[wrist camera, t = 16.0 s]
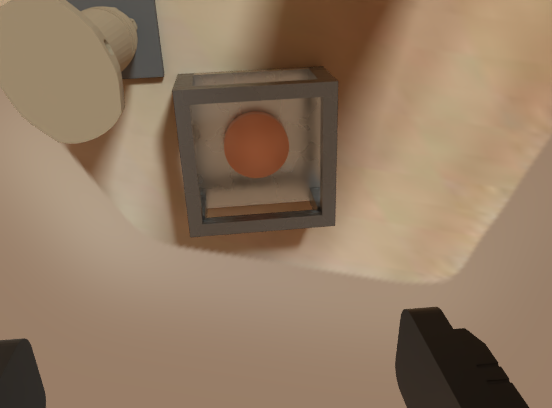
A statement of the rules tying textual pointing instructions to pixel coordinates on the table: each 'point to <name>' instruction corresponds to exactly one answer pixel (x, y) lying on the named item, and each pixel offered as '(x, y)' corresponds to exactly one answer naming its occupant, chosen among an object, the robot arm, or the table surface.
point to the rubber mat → (148, 56)
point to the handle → (65, 65)
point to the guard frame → (278, 186)
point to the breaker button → (256, 144)
